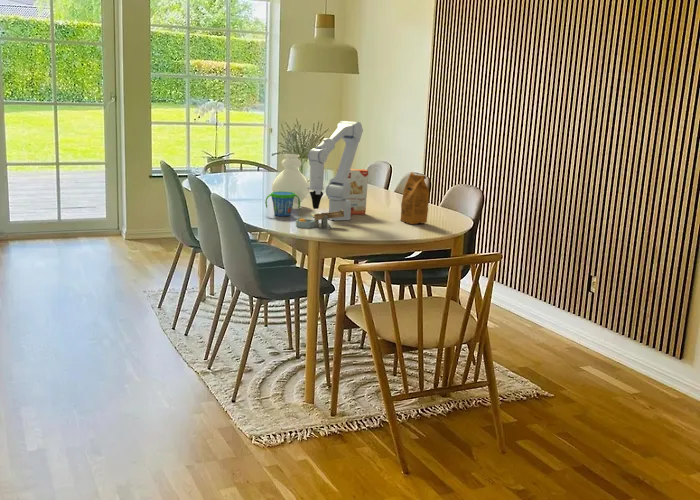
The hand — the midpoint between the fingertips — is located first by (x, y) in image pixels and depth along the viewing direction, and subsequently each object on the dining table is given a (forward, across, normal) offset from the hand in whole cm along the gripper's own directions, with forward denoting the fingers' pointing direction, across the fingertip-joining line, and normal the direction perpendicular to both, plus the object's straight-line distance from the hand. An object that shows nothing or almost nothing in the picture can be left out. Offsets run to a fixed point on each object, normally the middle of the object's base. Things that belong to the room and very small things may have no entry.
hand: (315, 208), depth 322 cm
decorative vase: (+7, -41, -8) cm, 43 cm away
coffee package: (+7, -7, +45) cm, 46 cm away
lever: (+3, +4, +5) cm, 7 cm away
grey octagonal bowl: (+6, +7, -5) cm, 11 cm away
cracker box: (+7, -26, +19) cm, 33 cm away
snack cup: (+7, -18, -13) cm, 23 cm away
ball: (+5, +7, -6) cm, 10 cm away
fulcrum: (+6, +7, +3) cm, 10 cm away
